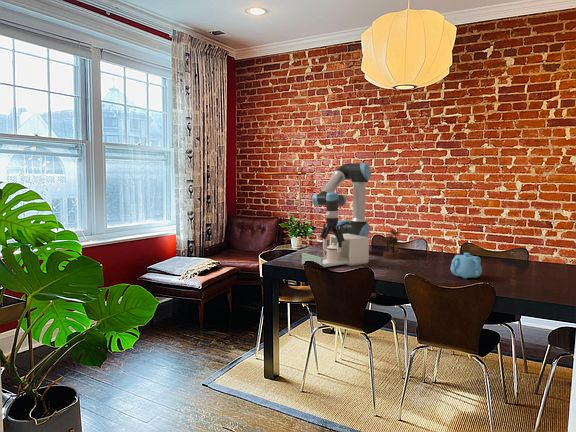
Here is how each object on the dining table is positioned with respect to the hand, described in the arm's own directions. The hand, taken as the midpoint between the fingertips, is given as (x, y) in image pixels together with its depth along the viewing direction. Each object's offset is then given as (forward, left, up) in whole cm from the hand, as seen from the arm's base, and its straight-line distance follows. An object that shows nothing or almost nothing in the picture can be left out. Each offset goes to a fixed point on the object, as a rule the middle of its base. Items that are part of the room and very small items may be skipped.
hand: (331, 250), depth 274 cm
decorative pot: (+67, +42, -9) cm, 80 cm away
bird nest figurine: (+6, +48, -9) cm, 49 cm away
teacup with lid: (0, -1, -7) cm, 7 cm away
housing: (0, +15, -9) cm, 17 cm away
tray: (0, -5, -8) cm, 10 cm away
